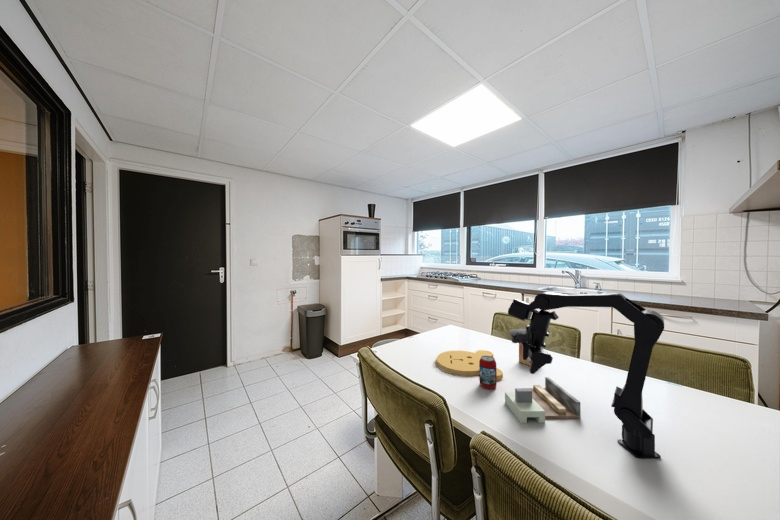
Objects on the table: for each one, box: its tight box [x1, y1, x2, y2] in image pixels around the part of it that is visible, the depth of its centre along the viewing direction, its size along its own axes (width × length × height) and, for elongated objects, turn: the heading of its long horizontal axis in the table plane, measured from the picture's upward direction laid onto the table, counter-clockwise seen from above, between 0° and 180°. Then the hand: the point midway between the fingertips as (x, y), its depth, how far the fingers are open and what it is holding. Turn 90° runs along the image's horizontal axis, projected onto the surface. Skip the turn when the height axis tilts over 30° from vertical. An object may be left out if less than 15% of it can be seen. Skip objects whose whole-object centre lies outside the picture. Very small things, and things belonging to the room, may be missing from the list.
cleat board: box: [528, 376, 581, 420], centre depth 95 cm, size 18×12×6 cm, turn 179°
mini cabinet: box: [504, 387, 546, 424], centre depth 91 cm, size 12×8×8 cm, turn 179°
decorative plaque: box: [436, 349, 504, 381], centre depth 131 cm, size 31×3×30 cm
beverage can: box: [479, 356, 497, 390], centre depth 109 cm, size 7×7×12 cm
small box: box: [518, 343, 531, 367], centre depth 130 cm, size 8×6×10 cm
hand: (527, 366), depth 93 cm, fingers open, 9 cm apart
